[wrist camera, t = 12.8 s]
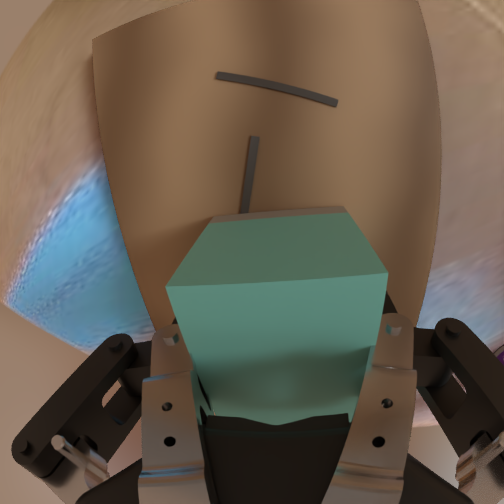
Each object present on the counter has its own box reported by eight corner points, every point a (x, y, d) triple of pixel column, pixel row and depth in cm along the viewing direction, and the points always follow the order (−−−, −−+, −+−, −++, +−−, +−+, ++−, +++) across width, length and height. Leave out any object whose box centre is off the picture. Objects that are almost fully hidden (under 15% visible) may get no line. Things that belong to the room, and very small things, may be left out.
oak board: (405, 11, 7) (418, 0, 5) (396, 349, 15) (403, 367, 13) (109, 44, 9) (91, 39, 7) (181, 358, 17) (174, 375, 15)
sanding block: (343, 206, 10) (388, 272, 5) (336, 355, 13) (347, 437, 9) (213, 216, 11) (165, 286, 6) (243, 360, 14) (228, 441, 9)
